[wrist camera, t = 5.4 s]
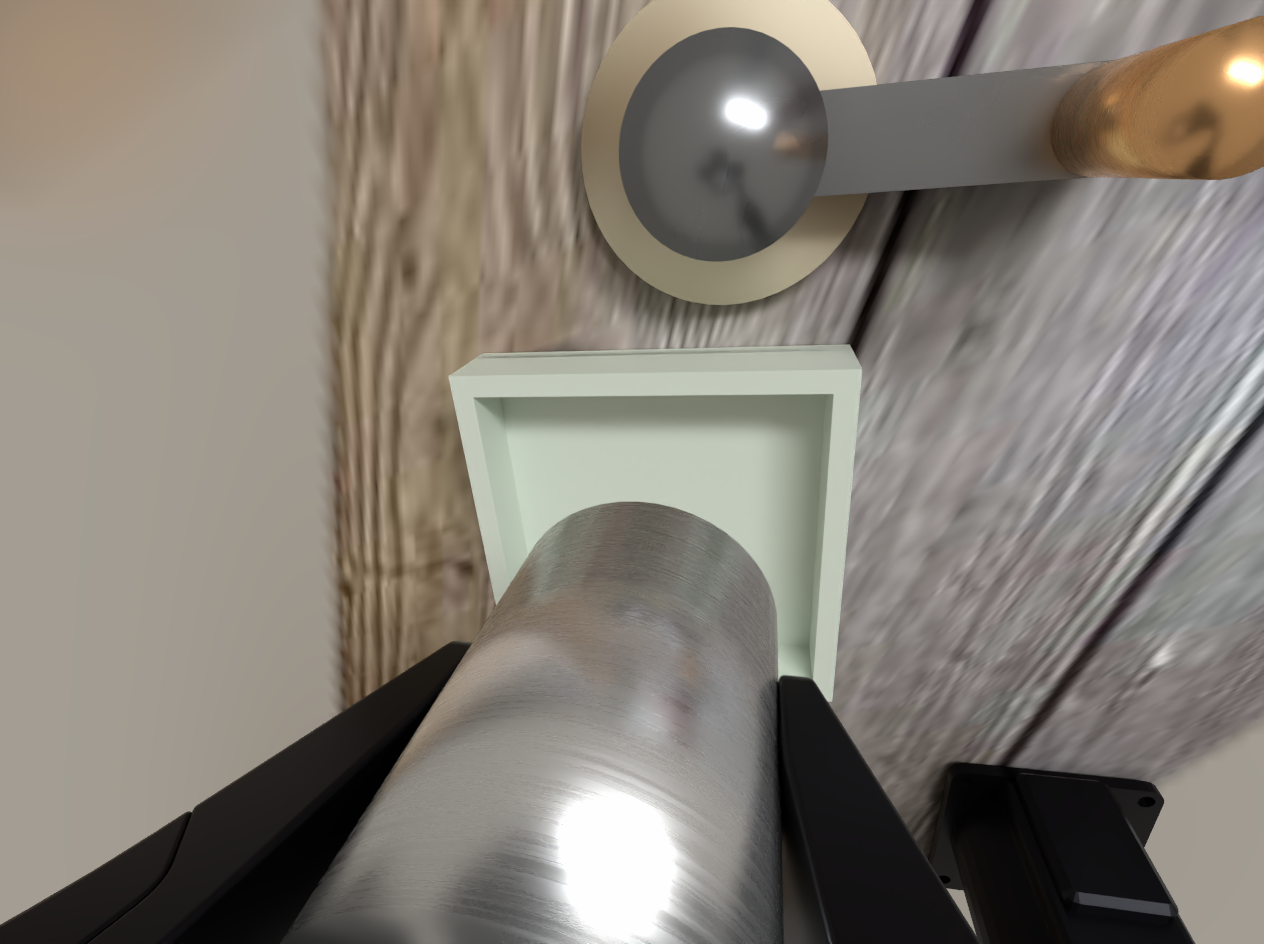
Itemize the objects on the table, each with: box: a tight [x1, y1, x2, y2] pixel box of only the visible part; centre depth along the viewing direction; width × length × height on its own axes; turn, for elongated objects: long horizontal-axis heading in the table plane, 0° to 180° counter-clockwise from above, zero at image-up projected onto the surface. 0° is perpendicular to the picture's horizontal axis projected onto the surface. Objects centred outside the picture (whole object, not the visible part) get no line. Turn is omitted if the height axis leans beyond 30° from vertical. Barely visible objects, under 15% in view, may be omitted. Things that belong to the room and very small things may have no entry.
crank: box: [619, 16, 1264, 262], centre depth 12 cm, size 4×11×5 cm, turn 94°
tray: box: [448, 344, 862, 702], centre depth 19 cm, size 10×10×2 cm
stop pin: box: [280, 502, 784, 944], centre depth 7 cm, size 4×4×6 cm
